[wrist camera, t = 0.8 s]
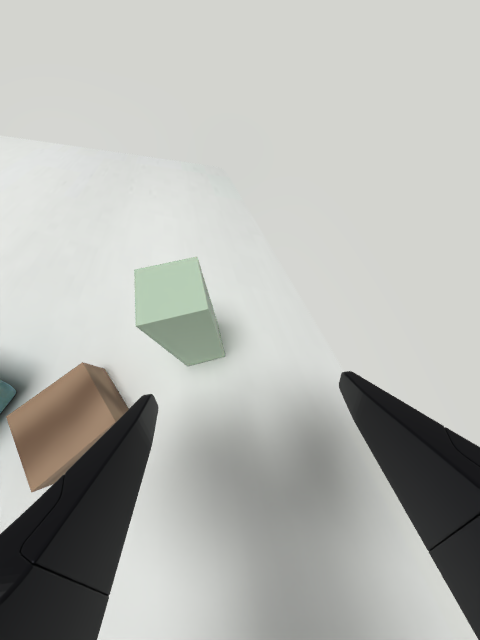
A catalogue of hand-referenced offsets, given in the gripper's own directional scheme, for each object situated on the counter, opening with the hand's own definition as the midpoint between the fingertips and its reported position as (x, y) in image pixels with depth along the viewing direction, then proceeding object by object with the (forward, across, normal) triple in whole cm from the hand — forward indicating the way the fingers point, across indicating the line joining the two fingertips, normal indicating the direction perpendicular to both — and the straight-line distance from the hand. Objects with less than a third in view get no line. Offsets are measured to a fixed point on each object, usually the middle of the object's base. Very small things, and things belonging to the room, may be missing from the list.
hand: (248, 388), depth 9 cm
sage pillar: (+15, +5, +8) cm, 18 cm away
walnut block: (+9, +19, +12) cm, 24 cm away
